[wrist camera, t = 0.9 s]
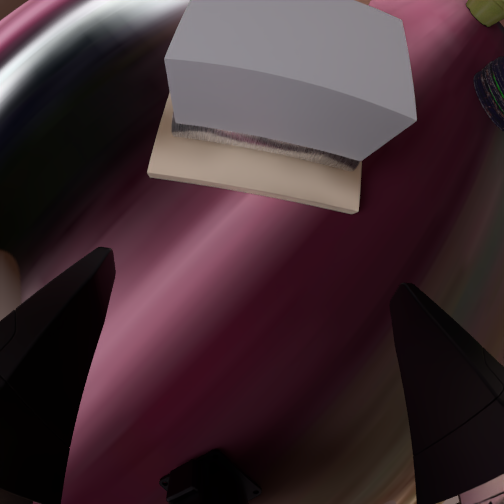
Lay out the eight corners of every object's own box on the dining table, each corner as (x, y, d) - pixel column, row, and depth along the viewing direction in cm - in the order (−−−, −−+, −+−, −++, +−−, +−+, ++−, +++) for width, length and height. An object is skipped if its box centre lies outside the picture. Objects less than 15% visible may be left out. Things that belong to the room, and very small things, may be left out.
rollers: (343, 177, 23) (364, 162, 20) (174, 144, 22) (169, 122, 18) (347, 29, 25) (360, 8, 21) (220, 0, 23) (223, -25, 19)
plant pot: (460, -9, 32) (482, -31, 24) (495, 24, 33) (518, 4, 24) (456, 5, 31) (481, -21, 22) (494, 41, 32) (522, 20, 23)
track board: (351, 214, 24) (358, 211, 23) (149, 177, 22) (147, 172, 21) (355, 32, 26) (359, 26, 25) (208, -1, 24) (209, -9, 23)
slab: (360, 161, 19) (416, 120, 13) (175, 123, 18) (164, 58, 11) (361, 70, 20) (401, 20, 13) (204, 33, 18) (207, -33, 12)
